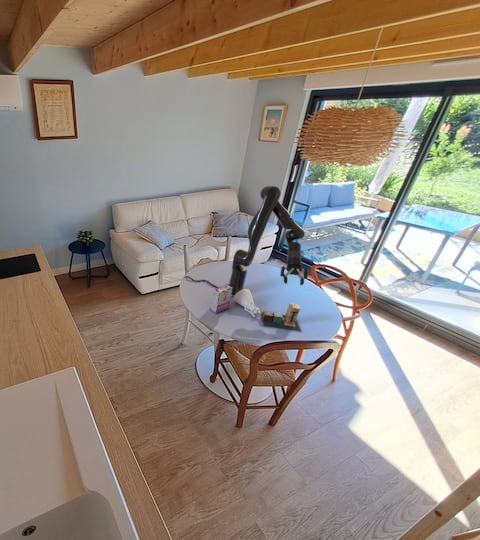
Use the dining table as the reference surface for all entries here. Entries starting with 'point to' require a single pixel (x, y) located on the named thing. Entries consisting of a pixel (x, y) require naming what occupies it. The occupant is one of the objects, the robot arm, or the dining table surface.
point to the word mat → (282, 324)
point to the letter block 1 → (267, 316)
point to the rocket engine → (246, 301)
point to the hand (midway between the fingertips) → (293, 284)
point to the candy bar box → (221, 298)
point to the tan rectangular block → (292, 313)
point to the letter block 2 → (277, 317)
